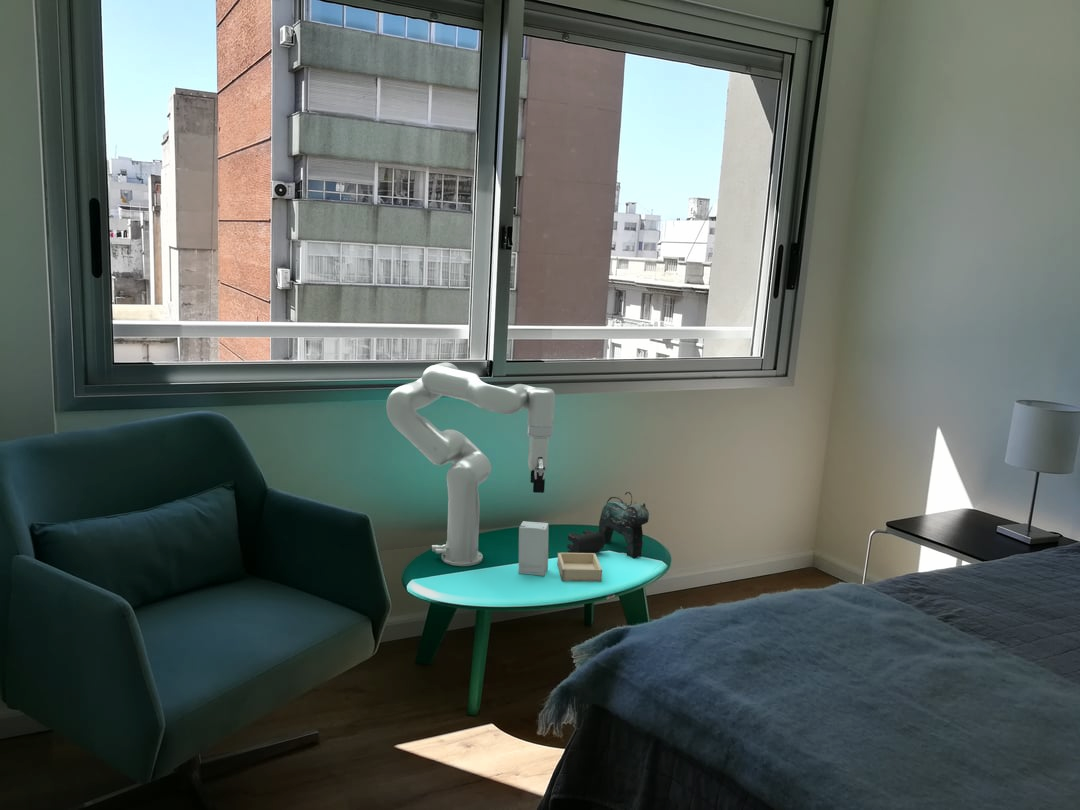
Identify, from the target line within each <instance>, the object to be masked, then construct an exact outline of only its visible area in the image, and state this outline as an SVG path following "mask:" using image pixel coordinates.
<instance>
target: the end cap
mask: <svg viewBox="0 0 1080 810" xmlns="http://www.w3.org/2000/svg"><path fill="white" fill-rule="evenodd" d="M582 533H583V534H579V533H577V532H573V533H568V534H567V541H569V542H570V543H569V542H568V543H566V547H567V549H569V550H567V553H595V554H596V553H599V552H601V551H602V550H603V549H604V547H605V544H604V538H603V536H602V534H601V533H600V532H599V531H596V532H594V531H591V530H589V529H588V530H583V531H582ZM571 543H572V544H571Z"/></svg>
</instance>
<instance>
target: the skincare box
mask: <svg viewBox="0 0 1080 810" xmlns="http://www.w3.org/2000/svg"><path fill="white" fill-rule="evenodd" d="M548 569H549V523H548V522H540V521H539V522H537V521H524V520H523V521H522V522H521V524H520V525H519V526H518V574H524V575H534V576H543V577H544V576H545V575H546V574H547V571H548Z"/></svg>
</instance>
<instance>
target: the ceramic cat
mask: <svg viewBox="0 0 1080 810" xmlns="http://www.w3.org/2000/svg"><path fill="white" fill-rule="evenodd" d="M627 494H629V495H630V498H631V500H630V504H628V503H626V502H624V500H623V499H621V498H620V497H617V496H611V497H609V498H608V499H607V501H606V503H605V504H604V506H603V507H602V510H601V513H600V518H599V523H598V532H600V533H601V534H602V536H603V538H604V545H607V544H606V543H608V544H610V543H611V540H612V537H613V533H614V531H615V533H618V534H620V535H622V536H623V538H624V540H625V543H626V556H628V557H630V558H632V559H638V558H641V557H642V552H643V551H642V549H643V545H644V544H643V543H644V542H643V535H644V533H643V525H645V524H648V522H649V519H650V513H649V512H650V511H649V510H648V508H647V507H646V503H645V502H644V503H641V504H638V502H637V501H636V500H635V501H634V502H633V496H632V495H633V494H632V493H631V492H630V491H627V492H625V493H624V496H626V495H627ZM612 499H617V500H619V501H617V500H616V501H615V500H614V501H611V500H612Z"/></svg>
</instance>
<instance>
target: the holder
mask: <svg viewBox="0 0 1080 810" xmlns="http://www.w3.org/2000/svg"><path fill="white" fill-rule="evenodd" d="M556 563H557V567H558V568H557V569H558V572H559V575H560V578H561V581H562V582H591V583H592V582H596V583H598V582H599V583H600V582H602V577H603V569H602V567H601V563H600V561H599V559H598V557H597V554H596V552H595V553H568V552H557V561H556Z"/></svg>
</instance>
